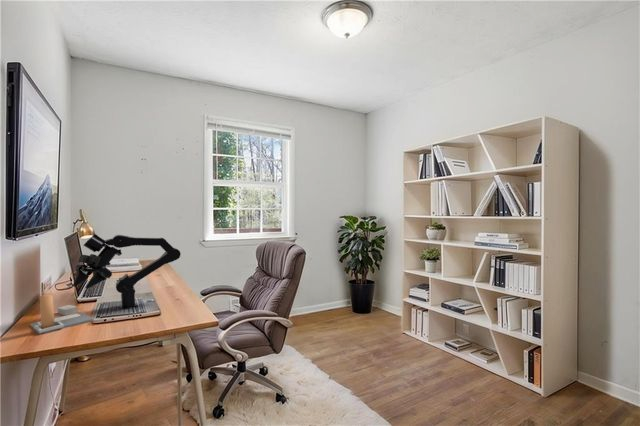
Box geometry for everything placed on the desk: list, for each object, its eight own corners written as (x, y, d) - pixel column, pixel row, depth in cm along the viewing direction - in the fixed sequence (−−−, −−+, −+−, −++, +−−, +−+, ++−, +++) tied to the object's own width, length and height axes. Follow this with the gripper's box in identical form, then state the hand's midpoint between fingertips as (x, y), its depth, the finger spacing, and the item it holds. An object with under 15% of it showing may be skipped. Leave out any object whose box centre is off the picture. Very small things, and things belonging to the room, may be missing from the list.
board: (94, 321, 142) (94, 317, 142) (39, 334, 128) (39, 330, 128) (81, 313, 153) (81, 309, 153) (30, 325, 139) (30, 321, 139)
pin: (56, 326, 135) (55, 293, 135) (49, 329, 131) (47, 296, 131) (46, 326, 135) (45, 294, 135) (38, 330, 131) (37, 297, 131)
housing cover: (77, 312, 155) (77, 306, 155) (65, 315, 151) (65, 309, 151) (70, 310, 159) (69, 304, 159) (57, 313, 154) (57, 307, 154)
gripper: (78, 246, 155) (52, 275, 145) (104, 248, 147) (77, 278, 137) (97, 260, 162) (73, 289, 153) (122, 263, 154) (98, 293, 144)
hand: (79, 287), depth 146 cm, fingers open, 9 cm apart
